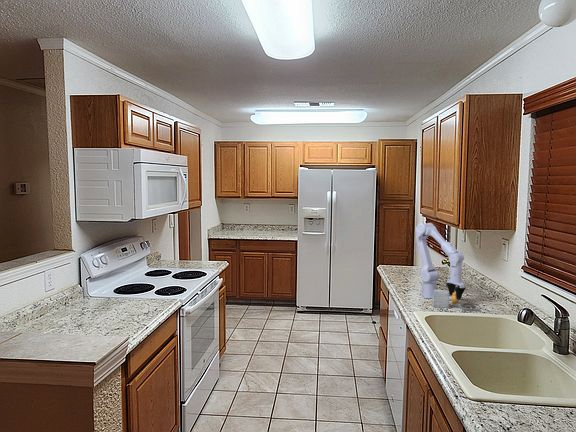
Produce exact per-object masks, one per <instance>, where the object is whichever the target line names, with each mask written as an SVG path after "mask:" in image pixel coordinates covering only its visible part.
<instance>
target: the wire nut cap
mask: <svg viewBox="0 0 576 432" xmlns="http://www.w3.org/2000/svg"><path fill="white" fill-rule="evenodd" d="M451 304H452V305H456V304H459V300H457V299H456V291H455V292H453V294H452V296H451Z"/></svg>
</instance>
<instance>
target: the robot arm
mask: <svg viewBox="0 0 576 432" xmlns="http://www.w3.org/2000/svg"><path fill="white" fill-rule="evenodd" d="M429 236H431V237H432V238H433V239H434V240H435V241H436V242H437V243H438V244H439V245H440V249H441V250H442V251H443V252H444V253H445V255H446V256H448V261H449V264H450V269H449V270H450V271H449V273H450V274H449V275H450V276H449V277H450V278H447V282H446V283H445V285H446V288H447V291H448V292H449V297H452V294H453V292H455V293H456V299H457V300H458V301H460V300H461V299H462V297H463V294H464V292H465V291H466V287H465V284H464V283H463V282H462V272H463V271H462V270H463V269H462V267H463V265H462V264H463V263H462V262H463V261H464V259H465V255H464V254H463V252H461V251H459V250H458V249H457V248H455V247H454V245H453V243H452V242H450V241H446V239H444V237H443V235H441V233H440V232H439V231H438V229H437V227H436V226H435V225H434V224H433V222H428V223H418V224H417V225H416V227H415V241H416V245H417V249H418V253H419V256H420V257H419V258H420V260H421V264H422V265H421V266H422V268H421V270H420V273H421V274H420V279H421V280H422V283H421V293H420V295H421V296H422V297H423V298H424V299H433V290H437V282H438V281H437V280H439V279H440V273H439V272H438V271H437V270H438V269H437V268H436V267H435V266H434V265H433V261H432V259H431V254H430V251H429V247H428V242H427V239H428V237H429Z"/></svg>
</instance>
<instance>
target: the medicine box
mask: <svg viewBox="0 0 576 432" xmlns="http://www.w3.org/2000/svg"><path fill="white" fill-rule="evenodd" d="M449 303H450V294H449V290H444V289H443V290H441V289H436V290H433V298H432V306H433V308H442V309H443V308H444V309H446V308H447V309H449V306H450V305H449Z"/></svg>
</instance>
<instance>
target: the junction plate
mask: <svg viewBox="0 0 576 432" xmlns="http://www.w3.org/2000/svg"><path fill="white" fill-rule="evenodd" d="M455 306H456V307H457V308H459V309H460V310H461V311H463V312H465V311H466V312H467V311H469V312H471V311H472V312H475V311H476V312H481V310H482V309H481V308H479V307H478V306H477V305H475V304H474V303H470V302H462V303H458V304H455Z"/></svg>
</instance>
